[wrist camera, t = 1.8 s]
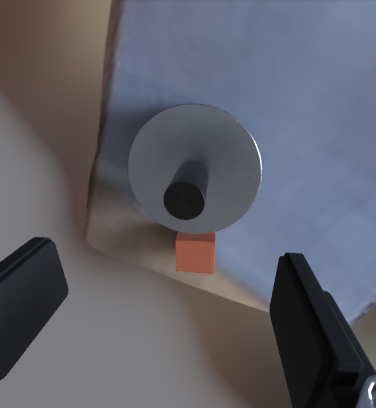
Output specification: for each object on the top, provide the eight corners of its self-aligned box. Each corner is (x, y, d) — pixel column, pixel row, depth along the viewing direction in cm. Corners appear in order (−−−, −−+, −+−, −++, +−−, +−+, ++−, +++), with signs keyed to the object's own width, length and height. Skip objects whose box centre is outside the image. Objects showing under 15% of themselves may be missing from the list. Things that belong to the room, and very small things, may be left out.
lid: (188, 68, 18) (172, 55, 12) (288, 171, 21) (317, 201, 15) (108, 174, 23) (69, 202, 17) (197, 247, 26) (190, 294, 20)
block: (181, 220, 33) (175, 240, 29) (215, 222, 32) (215, 242, 28) (181, 248, 35) (176, 271, 31) (214, 251, 35) (213, 274, 30)
